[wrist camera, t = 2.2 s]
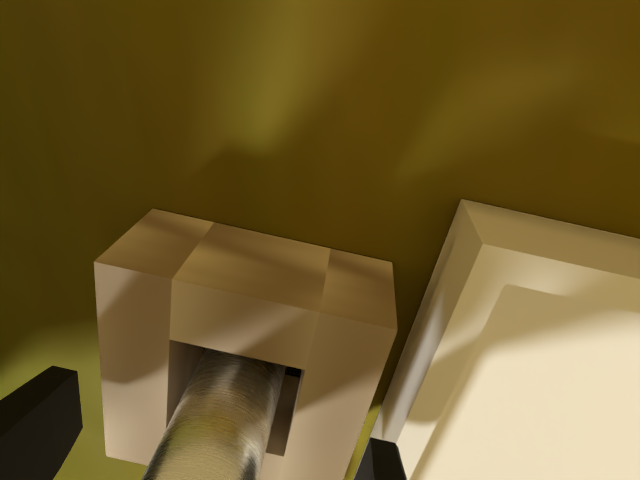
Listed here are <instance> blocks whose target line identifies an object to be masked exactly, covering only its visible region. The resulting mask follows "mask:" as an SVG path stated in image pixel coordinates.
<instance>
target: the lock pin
mask: <svg viewBox="0 0 640 480" xmlns="http://www.w3.org/2000/svg"><path fill="white" fill-rule="evenodd" d="M285 370H286V366H285V365H281V364H277V363H272V362H268V361H263V360H259V359H254V358H250V357H245V356H241V355H237V354H232V353H228V352H223V351H219V350H214V349H210V348H206V349H205V351H204V353H203V355H202V357H201V359H200V361H199V363H198V365H197V367H196V369H195V371H194V373H193V375H192V377H191V380H190V382H189V384H188V386H187V388H186V390H185V392H184V394H183V396H182V398H181V400H180V402H179V404H178V406H177V408H176V410H175V412H174V414H173V416H172V418H171V420H170V422H169V424H168V426H167V428H166V430H165V432H164V434H163V436H162V438H161V440H160V442H159V444H158V446H157V449H156V451H155V453H154V455H153V457H152V459H151V461H150V463H149V465H148V467H147V469H146V471H145V473H144V475H143V477H142V479H141V480H259V478H260V473H261V469H262V465H263V461H264V457H265V453H266V448H267V444H268V440H269V436H270V432H271V428H272V424H273V419H274V415H275V411H276V407H277V403H278V399H279V395H280V390H281V386H282V382H283V378H284V374H285Z"/></svg>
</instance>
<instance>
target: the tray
mask: <svg viewBox="0 0 640 480" xmlns="http://www.w3.org/2000/svg"><path fill="white" fill-rule="evenodd" d="M370 437H372V438H376V439H380V440H385V441H389V442H394V443H396V445H397V446H398V449H399V453H400V457H401V460H402V464H403V467H404V471H405V474H406V477H407V480H640V239H638V238H634V237H629V236H625V235H621V234H616V233H612V232H607V231H603V230H598V229H594V228H589V227H585V226H581V225H576V224H572V223H567V222H563V221H558V220H554V219H549V218H545V217H541V216H536V215H532V214H527V213H523V212H518V211H514V210H509V209H505V208H501V207H496V206H492V205H487V204H483V203H478V202H474V201H469V200H465V199H461V200H460V203H459V206H458V208H457V211H456V214H455V216H454V219H453V221H452V224H451V227H450V229H449V232H448V234H447V237H446V240H445V242H444V245H443V247H442V250H441V253H440V255H439V258H438V260H437V263H436V266H435V268H434V271H433V273H432V276H431V279H430V281H429V284H428V286H427V289H426V292H425V294H424V297H423V299H422V302H421V305H420V307H419V310H418V312H417V315H416V318H415V320H414V323H413V325H412V328H411V331H410V333H409V336H408V339H407V341H406V344H405V346H404V349H403V352H402V354H401V357H400V359H399V362H398V365H397V367H396V370H395V372H394V375H393V378H392V380H391V383H390V385H389V388H388V391H387V393H386V396H385V398H384V401H383V404H382V406H381V409H380V411H379V414H378V417H377V419H376V422H375V424H374V427H373V430H372V432H371V435H370ZM370 437H369V439H370ZM368 441H369V440H368ZM367 444H368V443H367ZM366 447H367V445H366ZM365 449H366V448H365ZM364 452H365V450H364ZM363 454H364V453H363ZM362 457H363V456H362ZM361 460H362V458H361ZM360 462H361V461H360ZM359 465H360V463H359ZM358 467H359V466H358ZM357 470H358V469H357ZM356 473H357V471H356ZM355 475H356V474H355ZM354 478H355V477H354ZM353 480H354V479H353Z"/></svg>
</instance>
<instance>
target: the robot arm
mask: <svg viewBox="0 0 640 480" xmlns="http://www.w3.org/2000/svg"><path fill="white" fill-rule="evenodd" d="M82 428H83V425H82V415H81V404H80V394H79V384H78V374H77V371H74V370H70V369H65V368H61V367H56V366H51V367H49V368H48V369H46V370H45V371H43V372H42V373H40V374H39V375H37V376H36V377H34V378H33V379H31V380H30V381H28V382H27V383H25V384H24V385H22V386H21V387H19V388H18V389H16V390H15V391H13V392H12V393H10V394H9V395H8V396H6V397H5V398H3V399H2V400H0V480H53V478H54V477H55V475H56V474H57V472H58V471H59V469H60V468H61V466H62V464H63V462H64V461H65V459H66V457H67V455H68V454H69V452H70V450H71V448H72V446H73V445H74V443H75V441H76V439H77V437H78V435H79V433H80V432H81V430H82ZM354 480H407V477H406V474H405V471H404V467H403V464H402V460H401V457H400V453H399V449H398V446H397V445H396V443H394V442H389V441H385V440H380V439H376V438H372V437H370V439H369V441H368V444H367V447H366V449H365V452H364V454H363V457H362V460H361V462H360V465H359V467H358V470H357V473H356V475H355V478H354Z"/></svg>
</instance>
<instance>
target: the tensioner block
mask: <svg viewBox="0 0 640 480" xmlns="http://www.w3.org/2000/svg"><path fill="white" fill-rule="evenodd" d="M94 274H95V290H96V306H97V322H98V337H99V353H100V369H101V385H102V400H103V416H104V432H105V448H106V456H108V457H112V458H117V459H121V460H126V461H130V462H135V463H139V464H143V465H149V463H150V461H151V459H152V457H153V455H154V453H155V451H156V449H157V446H158V444H159V442H160V440H161V438H162V436H163V434H164V432H165V430H166V428H167V426H168V424H169V422H170V420H171V418H172V416H173V414H174V412H175V410H176V408H177V406H178V404H179V402H180V400H181V398H182V396H183V394H184V392H185V390H186V388H187V386H188V384H189V382H190V380H191V377H192V375H193V373H194V371H195V369H196V367H197V365H198V363H199V361H200V359H201V357H202V355H203V347H205V348H210V349H214V350H219V351H223V352H228V353H232V354H237V355H241V356H245V357H250V358H254V359H259V360H263V361H268V362H272V363H277V364H281V365H285V366H290V367H294V368H299V369H301V373H300V377H294V376H290V375H285V374H284V378H283V382H282V386H281V390H280V395H279V399H278V403H277V407H276V411H275V415H274V419H273V424H272V428H271V432H270V436H269V440H268V444H267V448H266V453H265V457H264V461H263V465H262V469H261V473H260V478H259V480H343V479H344V476H345V473H346V470H347V468H348V465H349V462H350V459H351V457H352V454H353V451H354V449H355V446H356V443H357V440H358V438H359V435H360V432H361V429H362V427H363V424H364V421H365V418H366V416H367V413H368V410H369V408H370V405H371V402H372V399H373V397H374V394H375V391H376V388H377V386H378V383H379V380H380V377H381V375H382V372H383V369H384V366H385V364H386V361H387V358H388V356H389V353H390V350H391V347H392V345H393V342H394V339H395V336H396V334H397V331H398V326H397V314H396V302H395V290H394V278H393V266H392V262H389V261H384V260H380V259H375V258H371V257H366V256H362V255H358V254H353V253H349V252H344V251H340V250H335V249H331V248H326V247H322V246H318V245H313V244H309V243H304V242H300V241H295V240H291V239H287V238H282V237H278V236H273V235H269V234H264V233H260V232H255V231H251V230H247V229H242V228H238V227H233V226H229V225H224V224H220V223H215V222H211V221H207V220H202V219H198V218H193V217H189V216H184V215H180V214H175V213H171V212H167V211H162V210H158V209H152V210H150V211H149V212H148V213H147V214H146V215H145V216H144V217H143V218H142V219H140V220H139V221H138V222H137V223H136V224H135V225H134V226H133V227H132V228H130V229H129V230H128V231H127V232H126V233H125V234H124V235H123V236H122V237H120V238H119V239H118V240H117V241H116V242H115V243H114V244H113V245H112V246H110V247H109V248H108V249H107V250H106V251H105V252H104V253H103V254H102V255H100V256H99V257H98V258H97V259H96V260H95V261H94Z"/></svg>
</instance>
